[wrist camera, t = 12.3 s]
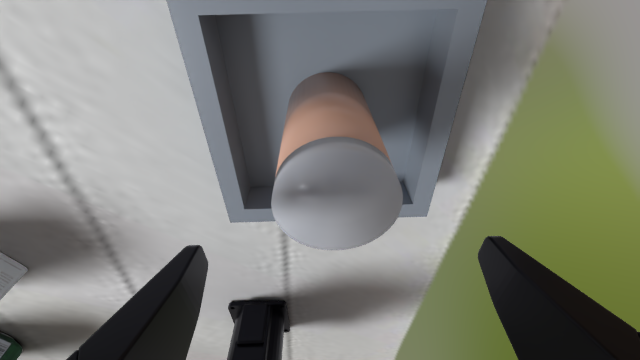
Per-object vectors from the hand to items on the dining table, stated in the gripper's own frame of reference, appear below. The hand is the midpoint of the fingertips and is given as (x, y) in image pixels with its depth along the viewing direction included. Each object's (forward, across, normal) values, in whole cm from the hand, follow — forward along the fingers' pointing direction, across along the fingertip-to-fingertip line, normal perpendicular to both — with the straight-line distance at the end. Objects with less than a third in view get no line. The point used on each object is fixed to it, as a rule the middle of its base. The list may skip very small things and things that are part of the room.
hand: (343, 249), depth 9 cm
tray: (+12, 0, 0) cm, 12 cm away
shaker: (+11, 0, 0) cm, 11 cm away
